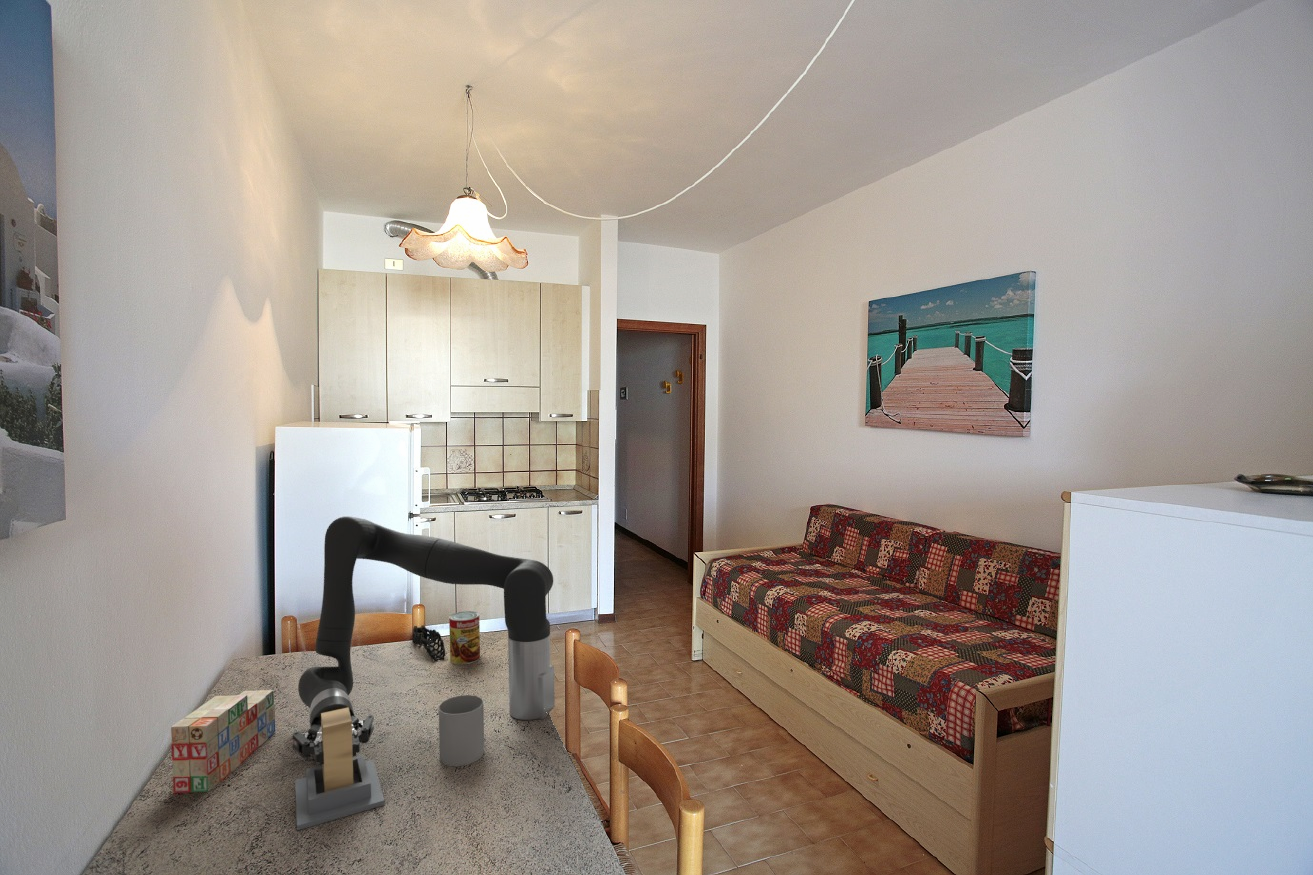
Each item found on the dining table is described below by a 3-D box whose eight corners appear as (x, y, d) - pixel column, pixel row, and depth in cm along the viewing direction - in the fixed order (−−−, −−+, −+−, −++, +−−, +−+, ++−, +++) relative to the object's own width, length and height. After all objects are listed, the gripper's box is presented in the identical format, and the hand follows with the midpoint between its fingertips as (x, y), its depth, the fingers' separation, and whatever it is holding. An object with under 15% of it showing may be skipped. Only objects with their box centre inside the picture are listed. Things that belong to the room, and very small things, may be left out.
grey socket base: (295, 784, 116) (294, 766, 115) (373, 763, 122) (372, 746, 122) (297, 830, 103) (296, 810, 102) (384, 804, 109) (383, 785, 109)
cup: (438, 748, 128) (437, 699, 127) (480, 739, 131) (479, 691, 130) (441, 770, 120) (440, 717, 119) (486, 760, 123) (485, 709, 123)
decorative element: (449, 660, 174) (448, 638, 174) (430, 664, 171) (430, 642, 171) (425, 637, 192) (424, 618, 192) (407, 641, 189) (407, 621, 189)
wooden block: (322, 779, 114) (321, 713, 113) (350, 772, 116) (348, 707, 115) (324, 796, 109) (323, 727, 108) (353, 788, 111) (351, 721, 110)
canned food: (463, 666, 169) (462, 621, 168) (443, 660, 173) (443, 616, 173) (486, 657, 175) (485, 613, 175) (467, 651, 180) (466, 609, 179)
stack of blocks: (245, 733, 134) (244, 675, 134) (276, 732, 135) (274, 675, 134) (172, 793, 113) (169, 725, 113) (208, 792, 113) (206, 724, 113)
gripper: (288, 704, 121) (289, 744, 106) (370, 687, 128) (382, 723, 113) (289, 743, 121) (291, 788, 106) (371, 724, 128) (383, 764, 113)
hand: (338, 754), depth 110 cm, fingers closed on wooden block, 4 cm apart
